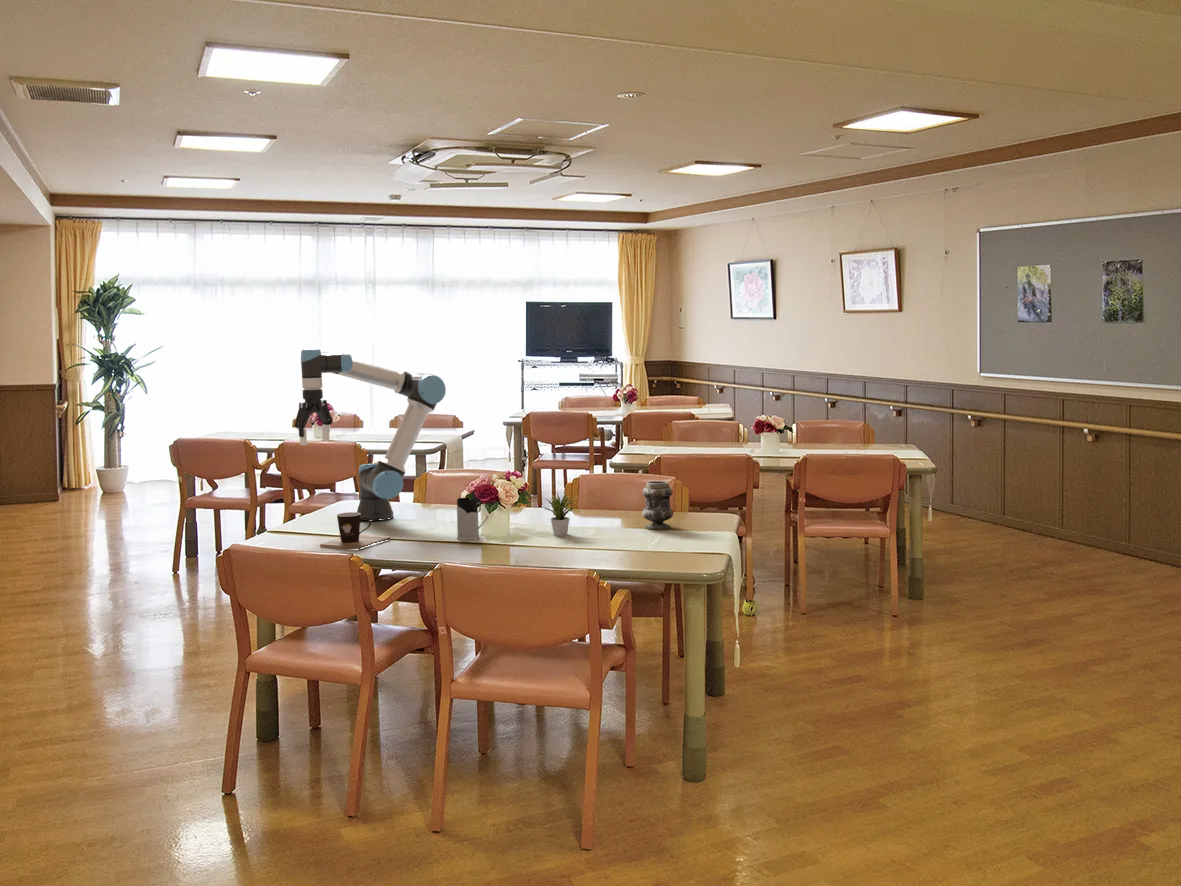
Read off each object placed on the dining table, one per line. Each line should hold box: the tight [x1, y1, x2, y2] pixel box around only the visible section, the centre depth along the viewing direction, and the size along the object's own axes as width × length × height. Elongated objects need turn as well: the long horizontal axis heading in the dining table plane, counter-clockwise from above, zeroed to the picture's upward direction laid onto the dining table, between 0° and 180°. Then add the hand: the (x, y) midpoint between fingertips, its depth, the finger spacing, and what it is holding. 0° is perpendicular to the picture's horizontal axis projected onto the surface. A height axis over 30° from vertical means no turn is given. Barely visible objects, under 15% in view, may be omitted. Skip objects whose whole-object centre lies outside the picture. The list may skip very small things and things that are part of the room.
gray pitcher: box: [456, 497, 489, 542], centre depth 417 cm, size 9×14×15 cm, turn 127°
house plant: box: [544, 492, 578, 537], centre depth 418 cm, size 14×14×16 cm
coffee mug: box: [336, 511, 372, 543], centre depth 408 cm, size 12×9×10 cm
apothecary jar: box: [641, 480, 674, 531], centre depth 429 cm, size 12×12×18 cm
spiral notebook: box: [319, 533, 392, 550], centre depth 410 cm, size 20×17×1 cm
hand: (314, 443), depth 432 cm, fingers open, 13 cm apart
